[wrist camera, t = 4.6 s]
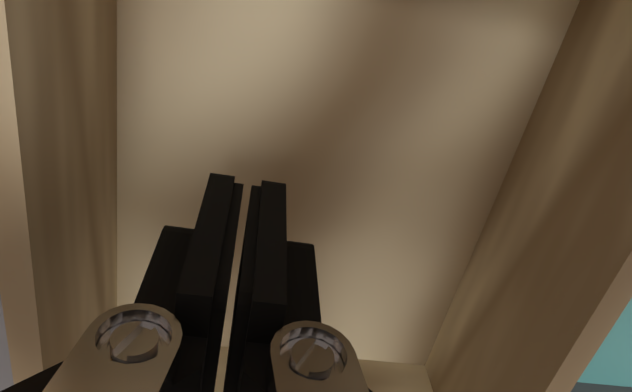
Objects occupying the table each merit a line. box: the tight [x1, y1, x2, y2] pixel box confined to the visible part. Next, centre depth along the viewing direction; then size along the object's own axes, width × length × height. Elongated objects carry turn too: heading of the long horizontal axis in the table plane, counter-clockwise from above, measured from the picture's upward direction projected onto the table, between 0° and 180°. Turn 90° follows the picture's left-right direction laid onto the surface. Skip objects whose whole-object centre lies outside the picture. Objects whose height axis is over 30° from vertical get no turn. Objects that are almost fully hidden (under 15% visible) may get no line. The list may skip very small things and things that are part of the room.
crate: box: [0, 0, 632, 392], centre depth 12 cm, size 12×15×6 cm
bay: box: [0, 295, 632, 392], centre depth 14 cm, size 23×18×5 cm
